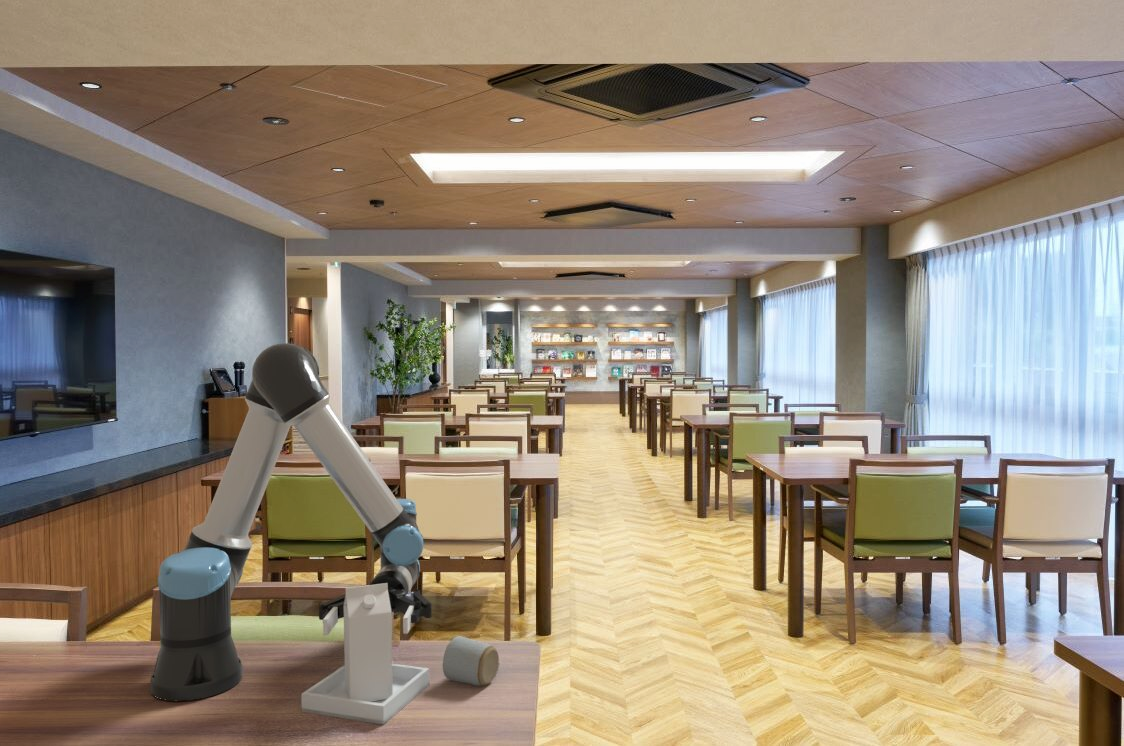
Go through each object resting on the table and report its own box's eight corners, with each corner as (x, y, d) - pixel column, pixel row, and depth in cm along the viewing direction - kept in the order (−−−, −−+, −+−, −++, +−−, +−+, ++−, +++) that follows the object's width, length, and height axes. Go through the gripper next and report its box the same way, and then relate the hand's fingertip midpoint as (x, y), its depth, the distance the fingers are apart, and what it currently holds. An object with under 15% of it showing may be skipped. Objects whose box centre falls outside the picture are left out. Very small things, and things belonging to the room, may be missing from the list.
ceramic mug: (481, 693, 136) (480, 650, 136) (441, 685, 140) (441, 643, 140) (510, 672, 146) (510, 631, 146) (472, 665, 149) (472, 625, 149)
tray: (301, 711, 130) (301, 693, 130) (354, 674, 145) (354, 658, 145) (383, 724, 125) (383, 706, 125) (429, 684, 140) (429, 668, 140)
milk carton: (345, 689, 137) (343, 582, 137) (385, 682, 140) (384, 577, 139) (350, 706, 131) (348, 594, 130) (392, 698, 133) (391, 588, 133)
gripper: (453, 606, 155) (439, 646, 133) (326, 608, 154) (292, 649, 133) (452, 568, 154) (438, 603, 133) (326, 570, 154) (291, 606, 133)
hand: (365, 626), depth 133 cm, fingers open, 13 cm apart
